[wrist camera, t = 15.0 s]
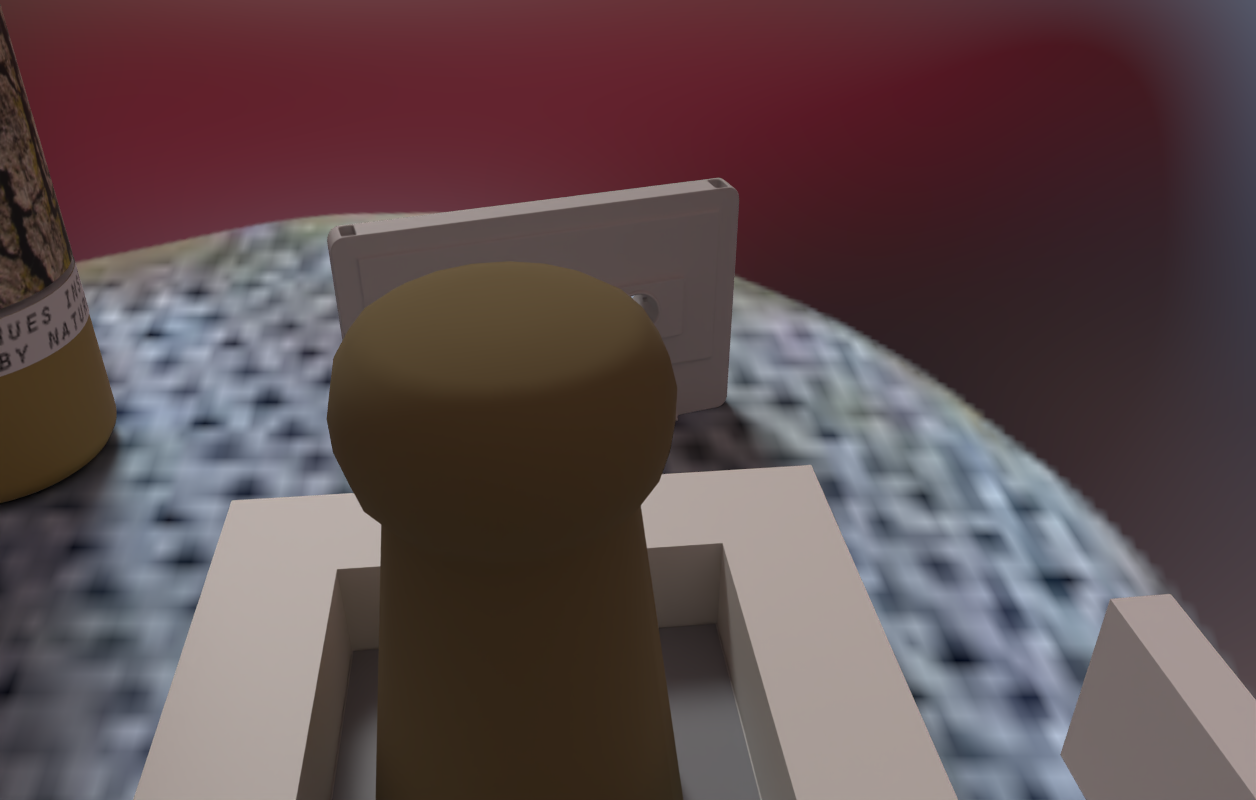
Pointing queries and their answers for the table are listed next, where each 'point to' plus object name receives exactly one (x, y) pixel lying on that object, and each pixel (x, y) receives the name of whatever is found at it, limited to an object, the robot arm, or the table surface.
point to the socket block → (689, 634)
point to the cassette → (579, 261)
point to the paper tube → (41, 316)
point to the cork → (512, 532)
